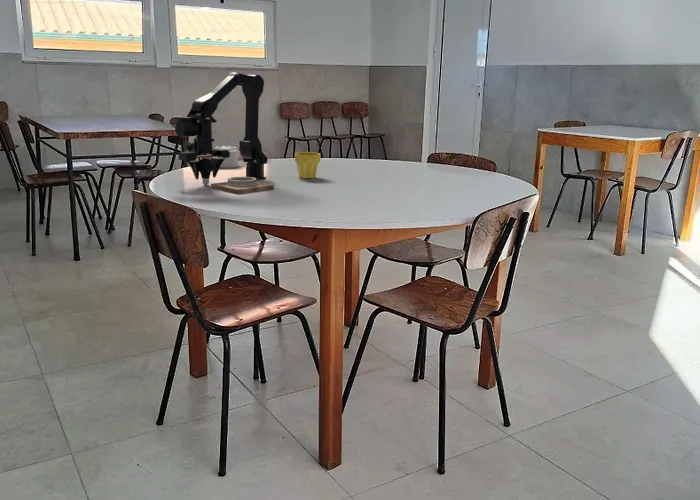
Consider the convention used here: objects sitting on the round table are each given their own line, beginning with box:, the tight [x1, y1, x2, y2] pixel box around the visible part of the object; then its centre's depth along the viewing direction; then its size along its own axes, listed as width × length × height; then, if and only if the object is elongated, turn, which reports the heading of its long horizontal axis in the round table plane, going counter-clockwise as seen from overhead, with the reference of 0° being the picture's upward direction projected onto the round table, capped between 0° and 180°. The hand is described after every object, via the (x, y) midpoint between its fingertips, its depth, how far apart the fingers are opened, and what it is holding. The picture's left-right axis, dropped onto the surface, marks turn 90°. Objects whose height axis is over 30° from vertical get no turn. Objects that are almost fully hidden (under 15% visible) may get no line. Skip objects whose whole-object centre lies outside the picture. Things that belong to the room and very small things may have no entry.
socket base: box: [210, 176, 275, 195], centre depth 226 cm, size 16×16×4 cm
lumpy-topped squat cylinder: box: [214, 145, 239, 169], centre depth 282 cm, size 10×13×9 cm
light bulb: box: [198, 157, 213, 186], centre depth 230 cm, size 6×6×10 cm
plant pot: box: [294, 151, 321, 179], centre depth 254 cm, size 10×10×10 cm
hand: (205, 178), depth 231 cm, fingers open, 7 cm apart
